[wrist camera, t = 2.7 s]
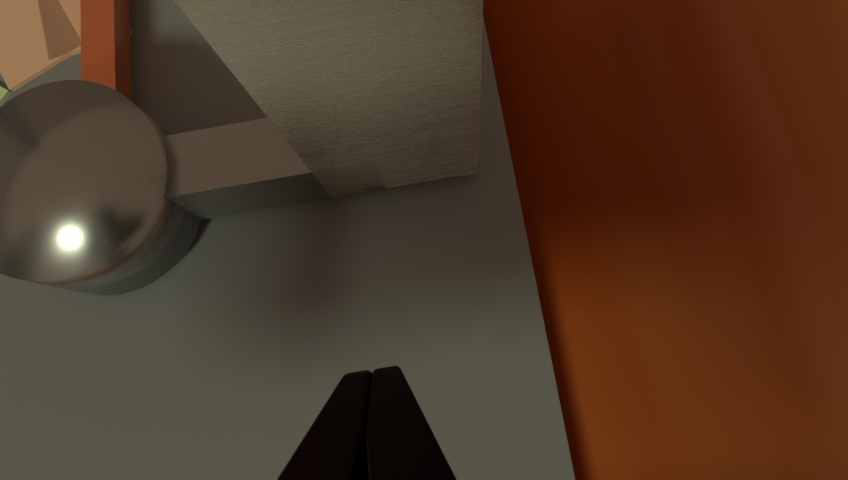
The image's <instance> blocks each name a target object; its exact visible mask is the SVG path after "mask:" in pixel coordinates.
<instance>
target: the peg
mask: <svg viewBox="0 0 848 480" xmlns="http://www.w3.org/2000/svg"><path fill="white" fill-rule="evenodd" d="M175 2H176V3H177V4H178V5H179V7H180V8H181V9H182V11H183V12H184V13H185V14H186V16H187V17H188V18H189V19H190V21H191V22H192V23H193V24H194V26H195V27H196V28H197V29H198V31H199V32H200V33H201V34H202V36H203V37H204V38H205V39H206V41H207V42H208V43H209V44H210V46H211V47H212V48H213V49H214V51H215V52H216V53H217V54H218V56H219V57H220V58H221V59H222V61H223V62H224V63H225V64H226V66H227V67H228V68H229V69H230V71H231V72H232V73H233V74H234V76H235V77H236V78H237V79H238V81H239V82H240V83H241V84H242V86H243V87H244V88H245V90H246V91H247V92H248V93H249V95H250V96H251V97H252V98H253V100H254V101H255V102H256V103H257V105H258V106H259V107H260V108H261V110H262V111H263V112H264V113H265V115H266V116H267V117H268V118H263V119H257V120H252V121H246V122H240V123H235V124H229V125H223V126H218V127H212V128H206V129H201V130H195V131H189V132H184V133H178V134H172V133H170V132H169V131H168V130H167V129H165V128H164V127H163V126H162V125H160V124H159V123H158V122H157V121H155V120H154V119H153V118H152V117H150V116H149V115H148V114H147V113H145V112H144V111H143V110H142V109H140V108H139V107H138V106H137V105H135V104H134V103H133V102H132V79H131V45H130V11H129V0H80V13H81V80H63V81H55V82H51V83H47V84H42V85H40V86H37V87H34V88H31V89H29V90H27V91H25V92H23V93H21V94H19V95H17V96H16V97H14V98H12V99H11V100H9V101H8V102H6V103H5V104H4V105H2V106H1V107H0V274H3V275H6V276H8V277H11V278H15V279H20V280H25V281H29V282H34V283H39V284H44V285H49V286H53V287H58V288H63V289H68V290H73V291H77V292H82V293H87V294H93V295H104V296H110V295H120V294H124V293H128V292H132V291H135V290H138V289H140V288H143V287H145V286H147V285H149V284H151V283H153V282H155V281H156V280H157V279H159V278H160V277H162V276H163V275H165V274H166V273H167V272H168V271H169V270H171V269H172V268H173V267H174V266H175V265H176V264H177V263H178V262H179V260H180V259H181V258H182V257H183V256H184V254H185V253H186V252H187V250H188V249H189V247H190V246H191V244H192V242H193V240H194V238H195V237H196V234H197V232H198V229H199V227H200V224H201V220H203V219H209V218H215V217H221V216H227V215H232V214H238V213H244V212H250V211H256V210H262V209H268V208H274V207H280V206H285V205H291V204H297V203H303V202H309V201H315V200H321V199H327V198H333V197H339V196H344V195H350V194H356V193H362V192H368V191H374V190H380V189H386V188H392V187H398V186H403V185H409V184H415V183H421V182H427V181H433V180H439V179H445V178H451V177H457V176H462V175H468V174H474V173H478V160H479V127H480V93H481V60H482V26H483V0H175Z"/></svg>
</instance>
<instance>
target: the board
mask: <svg viewBox="0 0 848 480" xmlns="http://www.w3.org/2000/svg"><path fill="white" fill-rule="evenodd" d="M129 11H130V45H131V79H132V102H133V103H134V104H135V105H137V106H138V107H139V108H140V109H142V110H143V111H144V112H145V113H147V114H148V115H149V116H150V117H152V118H153V119H154V120H155V121H157V122H158V123H159V124H160V125H162V126H163V127H164V128H165V129H167V130H168V131H169V132H170V133H172V134H178V133H184V132H189V131H195V130H201V129H206V128H212V127H218V126H223V125H229V124H235V123H240V122H246V121H252V120H257V119H263V118H268V117H267V116H266V115H265V113H264V112H263V111H262V110H261V108H260V107H259V106H258V105H257V103H256V102H255V101H254V100H253V98H252V97H251V96H250V95H249V93H248V92H247V91H246V90H245V88H244V87H243V86H242V84H241V83H240V82H239V81H238V79H237V78H236V77H235V76H234V74H233V73H232V72H231V71H230V69H229V68H228V67H227V66H226V64H225V63H224V62H223V61H222V59H221V58H220V57H219V56H218V54H217V53H216V52H215V51H214V49H213V48H212V47H211V46H210V44H209V43H208V42H207V41H206V39H205V38H204V37H203V36H202V34H201V33H200V32H199V31H198V29H197V28H196V27H195V26H194V24H193V23H192V22H191V21H190V19H189V18H188V17H187V16H186V14H185V13H184V12H183V11H182V9H181V8H180V7H179V5H178V4H177V3H176V2H175V0H129ZM63 80H81V13H80V0H0V107H1V106H2V105H4V104H5V103H6V102H8V101H9V100H11V99H12V98H14V97H16V96H17V95H19V94H21V93H23V92H25V91H27V90H29V89H31V88H34V87H37V86H40V85H42V84H47V83H51V82H55V81H63ZM390 366H399V367H400V368H401V370H402V372H403V374H404V376H405V378H406V380H407V382H408V384H409V386H410V388H411V390H412V392H413V394H414V396H415V398H416V400H417V402H418V404H419V406H420V408H421V410H422V412H423V414H424V416H425V418H426V420H427V422H428V424H429V426H430V428H431V430H432V432H433V434H434V436H435V438H436V439H437V441H438V443H439V445H440V447H441V449H442V451H443V453H444V455H445V457H446V459H447V461H448V463H449V465H450V467H451V469H452V471H453V473H454V475H455V477H456V479H457V480H575V476H574V471H573V466H572V461H571V455H570V450H569V445H568V440H567V435H566V430H565V425H564V420H563V415H562V410H561V405H560V400H559V395H558V390H557V385H556V380H555V375H554V370H553V365H552V360H551V355H550V350H549V345H548V340H547V335H546V329H545V324H544V319H543V314H542V309H541V304H540V299H539V294H538V289H537V284H536V279H535V274H534V269H533V264H532V259H531V254H530V249H529V244H528V239H527V234H526V229H525V224H524V219H523V214H522V209H521V203H520V198H519V193H518V188H517V183H516V178H515V173H514V168H513V163H512V158H511V153H510V148H509V143H508V138H507V133H506V128H505V123H504V118H503V113H502V108H501V103H500V98H499V93H498V88H497V83H496V77H495V72H494V67H493V62H492V57H491V52H490V47H489V42H488V37H487V32H486V27H485V22H484V17H483V26H482V60H481V93H480V127H479V160H478V173H474V174H468V175H462V176H457V177H451V178H445V179H439V180H433V181H427V182H421V183H415V184H409V185H403V186H398V187H392V188H386V189H380V190H374V191H368V192H362V193H356V194H350V195H344V196H339V197H333V198H327V199H321V200H315V201H309V202H303V203H297V204H291V205H285V206H280V207H274V208H268V209H262V210H256V211H250V212H244V213H238V214H232V215H227V216H221V217H215V218H209V219H203V220H201V224H200V227H199V229H198V232H197V234H196V237H195V238H194V240H193V242H192V244H191V246H190V247H189V249H188V250H187V252H186V253H185V254H184V256H183V257H182V258H181V259H180V260H179V262H178V263H177V264H176V265H175V266H174V267H173V268H172V269H171V270H169V271H168V272H167V273H166V274H165V275H163V276H162V277H160V278H159V279H157V280H156V281H155V282H153V283H151V284H149V285H147V286H145V287H143V288H140V289H138V290H135V291H132V292H128V293H124V294H120V295H110V296H104V295H93V294H87V293H82V292H77V291H73V290H68V289H63V288H58V287H53V286H49V285H44V284H39V283H34V282H29V281H25V280H20V279H15V278H11V277H8V276H6V275H3V274H0V480H277V479H278V477H279V475H280V474H281V472H282V471H283V469H284V468H285V466H286V465H287V463H288V461H289V460H290V458H291V457H292V455H293V454H294V452H295V450H296V449H297V447H298V446H299V444H300V443H301V441H302V439H303V438H304V436H305V435H306V433H307V432H308V430H309V429H310V427H311V425H312V424H313V422H314V421H315V419H316V418H317V416H318V414H319V413H320V411H321V410H322V408H323V407H324V405H325V403H326V402H327V400H328V399H329V397H330V396H331V394H332V393H333V391H334V389H335V388H336V386H337V385H338V383H339V382H340V380H341V378H342V377H343V376H344V375H345V374H347V373H351V372H357V371H364V370H369V371H371V372H372V373H373V371H374V370H375V369H377V368H383V367H390Z"/></svg>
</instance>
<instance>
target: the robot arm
mask: <svg viewBox="0 0 848 480" xmlns="http://www.w3.org/2000/svg"><path fill="white" fill-rule="evenodd" d="M277 480H457V479H456V477H455V475H454V473H453V471H452V469H451V467H450V465H449V463H448V461H447V459H446V457H445V455H444V453H443V451H442V449H441V447H440V445H439V443H438V441H437V439H436V438H435V436H434V434H433V432H432V430H431V428H430V426H429V424H428V422H427V420H426V418H425V416H424V414H423V412H422V410H421V408H420V406H419V404H418V402H417V400H416V398H415V396H414V394H413V392H412V390H411V388H410V386H409V384H408V382H407V380H406V378H405V376H404V374H403V372H402V370H401V368H400V367H399V366H390V367H383V368H377V369H375V370H374V371H373V373H372V372H371V371H369V370H364V371H357V372H351V373H347V374H345V375H344V376H343V377H342V378H341V380H340V382H339V383H338V385H337V386H336V388H335V389H334V391H333V393H332V394H331V396H330V397H329V399H328V400H327V402H326V403H325V405H324V407H323V408H322V410H321V411H320V413H319V414H318V416H317V418H316V419H315V421H314V422H313V424H312V425H311V427H310V429H309V430H308V432H307V433H306V435H305V436H304V438H303V439H302V441H301V443H300V444H299V446H298V447H297V449H296V450H295V452H294V454H293V455H292V457H291V458H290V460H289V461H288V463H287V465H286V466H285V468H284V469H283V471H282V472H281V474H280V475H279V477H278V479H277Z"/></svg>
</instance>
